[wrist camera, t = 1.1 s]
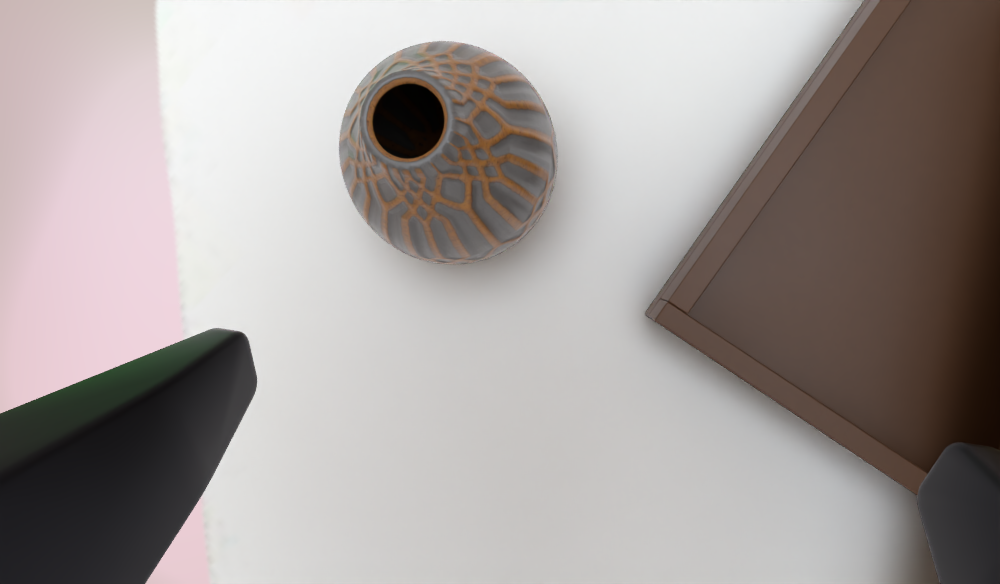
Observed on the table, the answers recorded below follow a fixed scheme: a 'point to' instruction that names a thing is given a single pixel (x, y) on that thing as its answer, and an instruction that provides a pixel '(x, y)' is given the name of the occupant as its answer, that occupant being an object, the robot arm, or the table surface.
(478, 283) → the table surface
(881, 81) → the tray
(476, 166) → the vase
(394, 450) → the table surface
